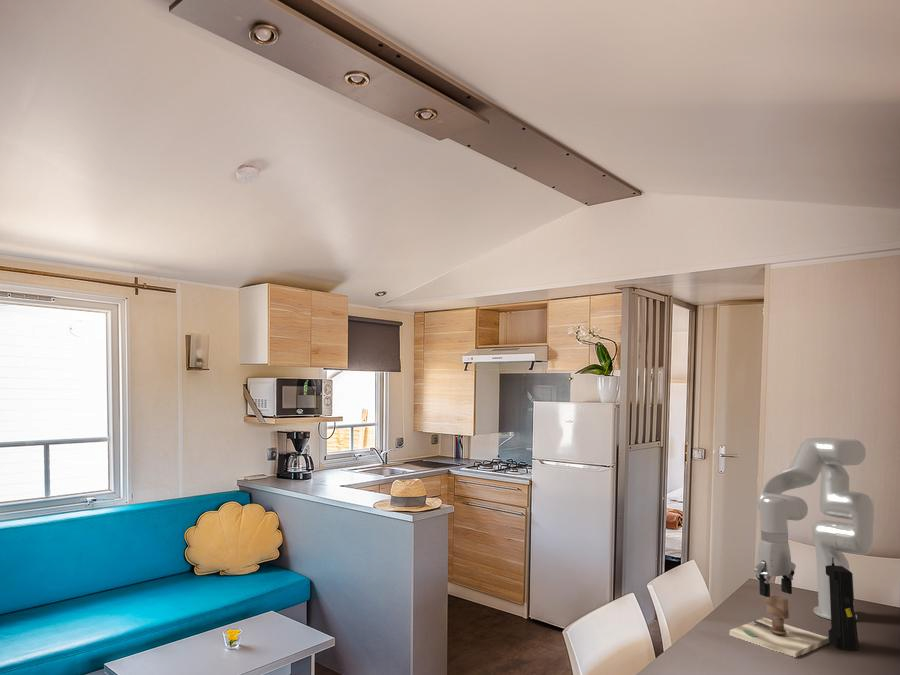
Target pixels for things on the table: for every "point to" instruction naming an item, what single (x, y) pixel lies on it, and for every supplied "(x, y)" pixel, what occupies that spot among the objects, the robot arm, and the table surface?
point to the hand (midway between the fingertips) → (775, 594)
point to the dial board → (780, 638)
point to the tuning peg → (776, 614)
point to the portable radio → (842, 608)
